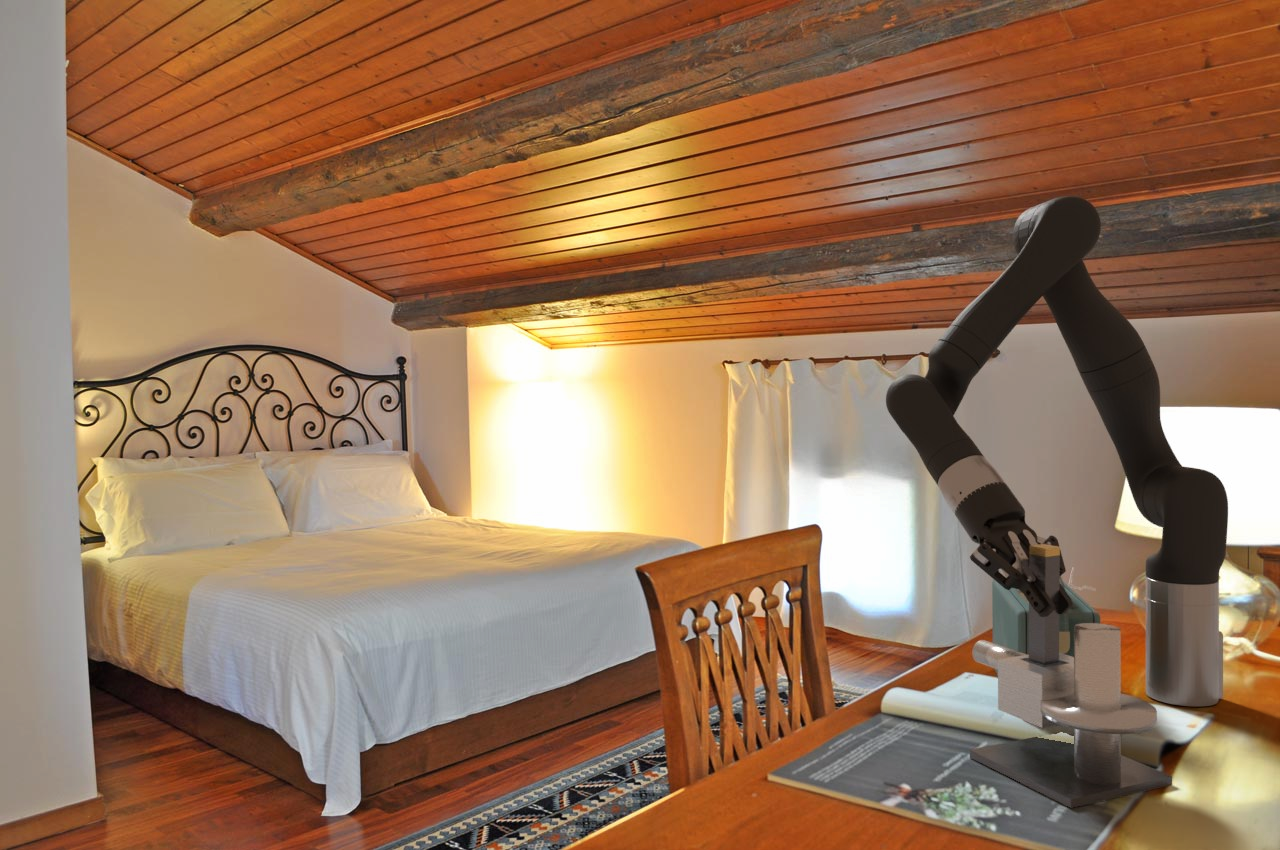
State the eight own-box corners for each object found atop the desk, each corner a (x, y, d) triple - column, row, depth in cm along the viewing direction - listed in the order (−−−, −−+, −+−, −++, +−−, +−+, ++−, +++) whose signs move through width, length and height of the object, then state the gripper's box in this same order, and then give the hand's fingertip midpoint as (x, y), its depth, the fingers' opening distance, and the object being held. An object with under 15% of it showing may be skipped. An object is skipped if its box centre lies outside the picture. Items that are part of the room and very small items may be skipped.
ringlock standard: (1026, 723, 133) (1026, 590, 133) (1191, 793, 110) (1192, 632, 109) (935, 740, 128) (934, 601, 127) (1089, 817, 105) (1088, 648, 104)
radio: (1104, 725, 132) (1104, 576, 132) (1019, 721, 135) (1018, 574, 134) (1062, 669, 158) (1062, 544, 157) (991, 667, 160) (990, 544, 159)
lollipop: (1088, 638, 176) (1088, 571, 176) (1035, 629, 183) (1035, 564, 182) (1101, 631, 180) (1101, 566, 180) (1049, 623, 187) (1049, 560, 187)
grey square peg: (1042, 657, 121) (1043, 543, 121) (1058, 662, 119) (1059, 546, 119) (1028, 660, 120) (1029, 545, 120) (1044, 665, 118) (1045, 548, 118)
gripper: (954, 483, 123) (1034, 600, 112) (1034, 477, 129) (1117, 587, 118) (924, 521, 127) (998, 636, 117) (1003, 513, 134) (1079, 622, 123)
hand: (1057, 611), depth 118 cm, fingers closed on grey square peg, 2 cm apart
